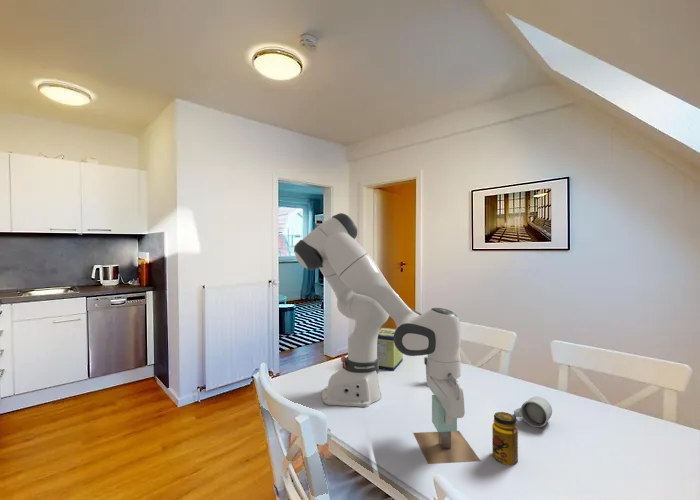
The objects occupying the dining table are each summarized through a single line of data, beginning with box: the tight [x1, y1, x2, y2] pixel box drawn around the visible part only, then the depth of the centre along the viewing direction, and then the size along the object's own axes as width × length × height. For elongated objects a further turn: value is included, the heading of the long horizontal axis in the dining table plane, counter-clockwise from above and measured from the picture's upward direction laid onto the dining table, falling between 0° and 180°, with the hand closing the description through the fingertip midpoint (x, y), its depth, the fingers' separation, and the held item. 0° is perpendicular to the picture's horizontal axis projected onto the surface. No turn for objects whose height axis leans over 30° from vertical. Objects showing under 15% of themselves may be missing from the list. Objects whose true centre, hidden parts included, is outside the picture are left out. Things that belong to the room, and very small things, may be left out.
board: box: [413, 430, 482, 465], centre depth 91 cm, size 14×14×1 cm
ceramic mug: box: [513, 396, 553, 428], centre depth 107 cm, size 11×8×8 cm
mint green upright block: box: [431, 394, 458, 432], centre depth 91 cm, size 5×5×8 cm
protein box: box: [377, 327, 404, 372], centre depth 158 cm, size 10×16×16 cm
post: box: [439, 431, 451, 449], centre depth 91 cm, size 3×3×6 cm
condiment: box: [491, 411, 519, 466], centre depth 87 cm, size 7×8×12 cm
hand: (443, 417), depth 91 cm, fingers closed on mint green upright block, 5 cm apart
